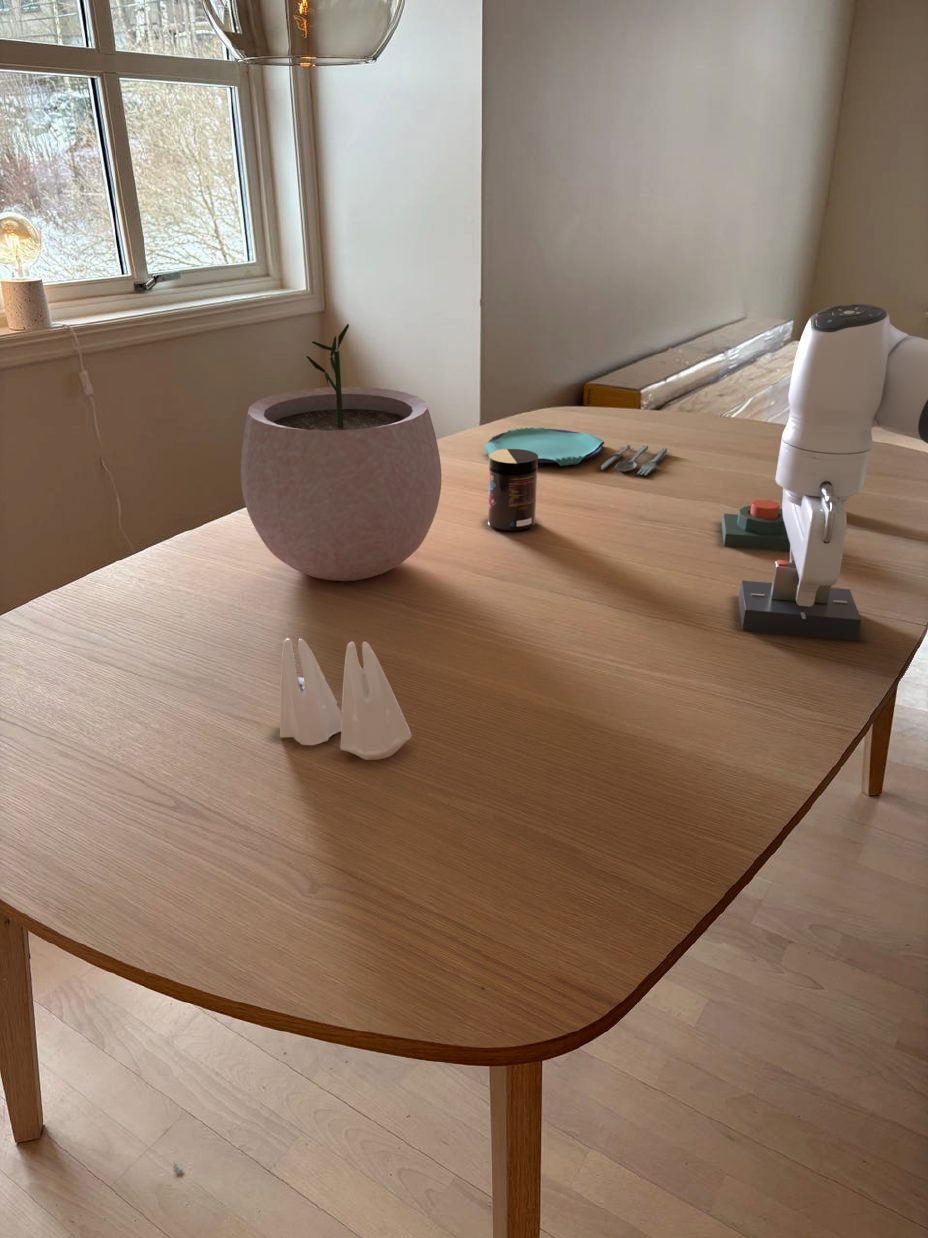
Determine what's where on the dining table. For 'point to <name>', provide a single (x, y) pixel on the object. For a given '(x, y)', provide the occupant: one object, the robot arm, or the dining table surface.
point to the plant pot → (341, 476)
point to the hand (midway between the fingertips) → (800, 589)
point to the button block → (754, 531)
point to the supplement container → (512, 490)
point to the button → (764, 509)
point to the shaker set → (366, 704)
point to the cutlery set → (565, 447)
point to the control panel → (798, 613)
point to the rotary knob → (792, 583)
